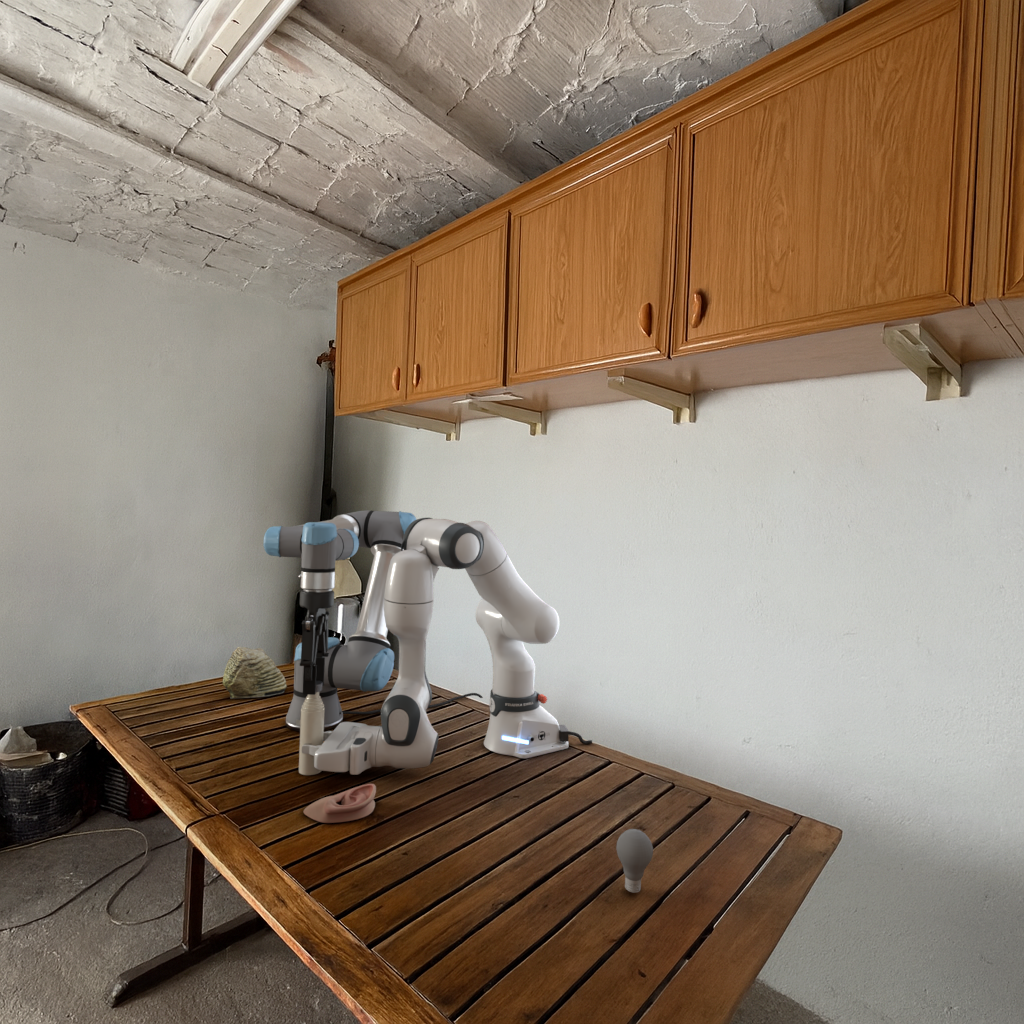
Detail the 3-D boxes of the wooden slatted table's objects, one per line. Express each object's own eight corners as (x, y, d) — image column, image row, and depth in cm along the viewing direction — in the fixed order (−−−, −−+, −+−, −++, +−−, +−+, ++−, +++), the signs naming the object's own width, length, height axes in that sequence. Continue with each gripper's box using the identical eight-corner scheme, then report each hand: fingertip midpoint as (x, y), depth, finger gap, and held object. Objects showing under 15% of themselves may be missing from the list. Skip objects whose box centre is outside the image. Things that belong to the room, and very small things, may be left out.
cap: (316, 686, 149) (316, 679, 149) (325, 690, 146) (325, 683, 146) (301, 690, 146) (301, 682, 146) (310, 693, 143) (311, 686, 143)
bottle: (318, 763, 150) (321, 681, 150) (325, 772, 145) (328, 687, 145) (295, 768, 147) (299, 684, 147) (302, 777, 143) (305, 690, 142)
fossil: (218, 695, 195) (220, 647, 195) (278, 685, 208) (279, 640, 207) (228, 703, 189) (230, 653, 188) (289, 692, 201) (290, 645, 201)
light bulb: (610, 879, 108) (613, 822, 108) (644, 879, 109) (647, 822, 109) (619, 902, 102) (622, 840, 102) (655, 901, 103) (658, 840, 103)
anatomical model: (295, 798, 124) (324, 774, 135) (295, 818, 124) (324, 792, 135) (358, 808, 121) (383, 782, 132) (358, 828, 121) (382, 801, 133)
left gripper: (313, 583, 155) (309, 677, 155) (287, 595, 136) (283, 702, 136) (343, 584, 155) (340, 678, 156) (322, 596, 136) (318, 703, 136)
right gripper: (378, 716, 156) (322, 713, 156) (356, 749, 136) (292, 745, 136) (377, 742, 156) (321, 739, 157) (354, 778, 136) (291, 775, 136)
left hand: (313, 689), depth 146 cm, fingers open, 6 cm apart
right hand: (307, 742), depth 146 cm, fingers closed on bottle, 5 cm apart
